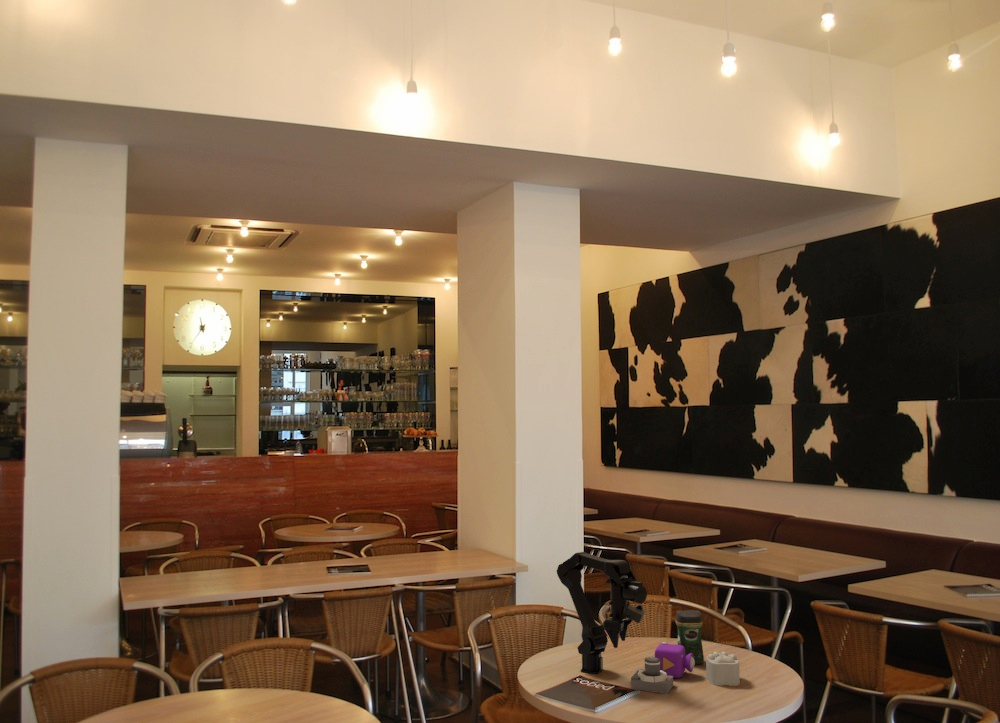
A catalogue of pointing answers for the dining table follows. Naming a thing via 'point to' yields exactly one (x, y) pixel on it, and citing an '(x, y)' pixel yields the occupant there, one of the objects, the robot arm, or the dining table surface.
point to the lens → (652, 666)
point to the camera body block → (652, 682)
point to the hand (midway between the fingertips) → (619, 644)
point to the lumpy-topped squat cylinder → (722, 669)
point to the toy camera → (674, 659)
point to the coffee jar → (690, 633)
